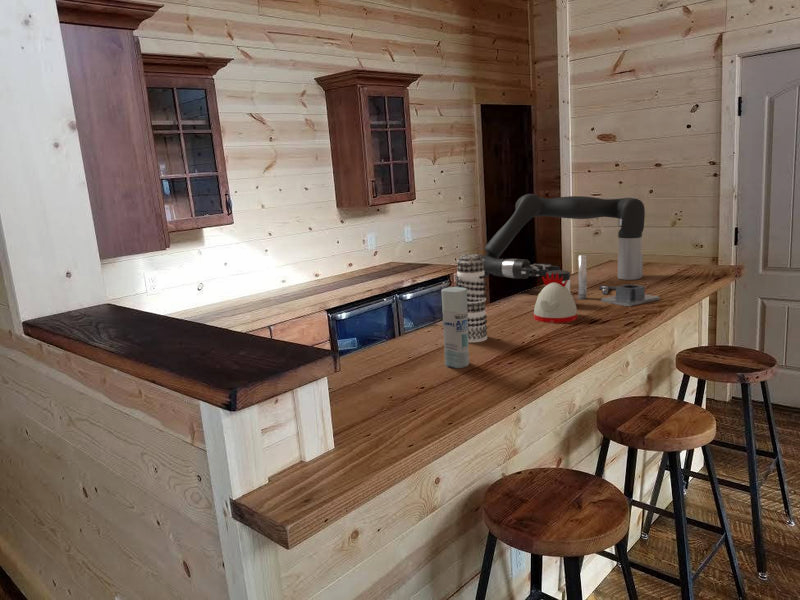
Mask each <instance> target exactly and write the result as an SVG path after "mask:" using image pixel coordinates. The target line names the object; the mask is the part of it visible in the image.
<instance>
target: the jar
mask: <svg viewBox="0 0 800 600" xmlns="http://www.w3.org/2000/svg"><path fill="white" fill-rule="evenodd" d="M546 273H548V275H549V278H550V279H551V275H552V273H554V279H555V278H556V274H557V273H558V276H559V280H560V278H561V277H562V276H563V279H562V283H563V284H564V283H565V281H566V280H567V283H566V285H565V287H566V288H567V289H568V290H569V291H570V292H571V272H570V271H568V270H562V269H560V270H553V271H548V272H546Z"/></svg>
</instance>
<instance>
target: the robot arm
mask: <svg viewBox="0 0 800 600" xmlns="http://www.w3.org/2000/svg"><path fill="white" fill-rule="evenodd" d="M514 206H515V210H514V212H513V214H512V215H511V216H510V218H509V219H508V220H507V221H506V222H505V223H504V225H502V227H500V229H498V231H497V232H496V233H495V234H494V235H493V236H492V238H491V239H490V240H489V241H488V242H487V244H486V245H485V246H484V251H485V255H484V254H479V255H480V256H481V258H482V259H484V261H483V266H484V275H486V276H487V277H488V276H489V275H491V274H492V275H493V276H496V277H502V278H503V277H505V278H509V279H510V278H511V279H521V280H522V279H523V280H525V279H529V277H534V278H535V277H539V276H542V277H546V272H548V271H553V270H561V266H559V265H553V264H551V263H533V264H531V262H530V260H528V259H521V258H500V256H502V254H503V253H504V251H505V250H506V249H507V248H508V247H509V245H510V244H511V242H512V241H513V239H514V238H515V237H516V236H517V235H518V234H519V232H520V231H521V230H522V228H524V226H525V225H526V224H527V223H528V222H529V221H531V220H532V218H535V217H536V218H537V217H553V218H561V219H571V220H575V219H576V220H589V219H590V220H591V219H596V218H597V219H598V218H613V219H619V220H620V219H621V226H620V229H619V230H618V232H617V233H618V234H617V279H619V280H623V281H624V280H627V281H629V280H632V281H634V280H640V279H642V278H643V267H644V266H643V265H644V255H643V254H642V251H643V249H642V247H643V245H642V244H643V232H644V229H645V214H646V212H645V211H646V208H645V205H644V202H643V201H642V200H640V199H638V198H635V197H623V198H609V199H608V198H599V197H594V196H593V197H592V196H582V195H581V196H578V195H576V196H575V195H570V196H561V197H560V196H559V197H554V198H552V197H551V198H545V197H539V196H538V195H537V194H534V193H526V194H524V195H522V196H520V197H519V198H518V199H517V201H515V205H514Z"/></svg>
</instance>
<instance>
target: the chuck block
mask: <svg viewBox="0 0 800 600" xmlns="http://www.w3.org/2000/svg"><path fill="white" fill-rule="evenodd" d="M600 300H601V302H602V303H608V304H612V305H618V306H624V307H627V306H628V307H633V305H634V306H638V305H641V304H646V303H651V302H655V301H660V296H657V295H651V294H646V286H645V285H640V284H634V283H628V284H620V285H616V290H615V295H612V296H608V297H602V298H601V299H600Z"/></svg>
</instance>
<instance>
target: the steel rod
mask: <svg viewBox="0 0 800 600" xmlns="http://www.w3.org/2000/svg"><path fill="white" fill-rule="evenodd" d="M577 257H578V259H577V263H578V267H577V268H578V269H577V270H578V272H577V273H578V274H577V275H578V279H577V280H578V285H577V287H578V292H577V294H578V296H577V297H578V298H577V299H579V300H586V299H587V255H586V254H579V255H578V256H577Z"/></svg>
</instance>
